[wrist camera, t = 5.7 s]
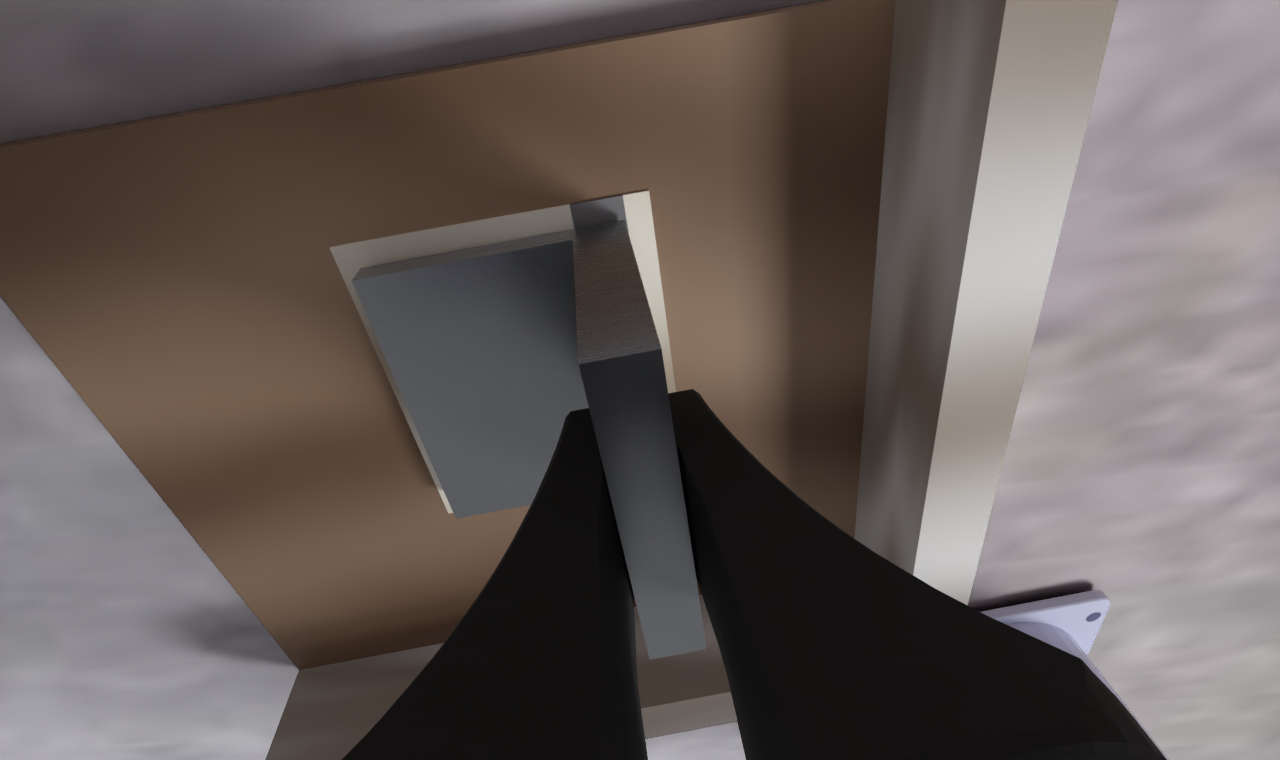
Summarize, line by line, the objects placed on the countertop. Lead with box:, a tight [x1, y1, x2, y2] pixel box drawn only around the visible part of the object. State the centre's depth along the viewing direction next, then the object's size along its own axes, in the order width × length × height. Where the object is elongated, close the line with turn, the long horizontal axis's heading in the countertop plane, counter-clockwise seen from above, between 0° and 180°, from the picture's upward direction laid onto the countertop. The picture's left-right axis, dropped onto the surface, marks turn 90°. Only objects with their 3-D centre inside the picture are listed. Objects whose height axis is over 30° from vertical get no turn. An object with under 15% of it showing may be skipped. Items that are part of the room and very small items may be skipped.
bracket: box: [352, 220, 707, 660], centre depth 11 cm, size 5×6×5 cm
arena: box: [0, 0, 1118, 760], centre depth 14 cm, size 16×18×4 cm
